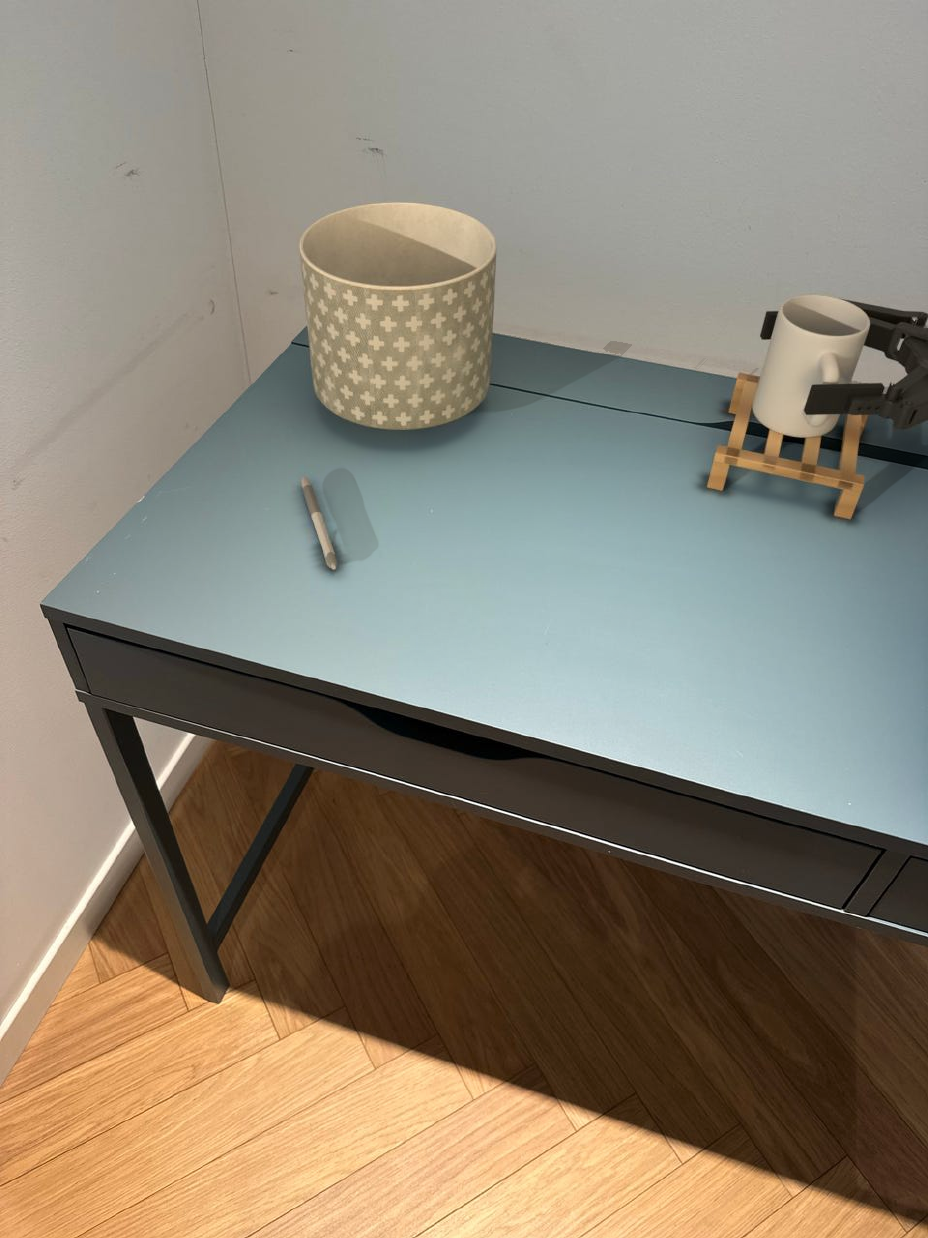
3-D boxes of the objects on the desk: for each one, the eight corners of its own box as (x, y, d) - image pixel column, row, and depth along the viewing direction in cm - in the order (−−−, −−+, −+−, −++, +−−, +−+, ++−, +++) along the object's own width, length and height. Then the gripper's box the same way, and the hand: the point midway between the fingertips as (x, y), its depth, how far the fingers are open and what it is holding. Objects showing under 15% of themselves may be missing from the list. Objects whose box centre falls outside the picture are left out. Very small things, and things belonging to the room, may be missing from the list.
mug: (745, 389, 101) (771, 291, 94) (826, 393, 101) (859, 295, 93) (764, 456, 93) (794, 355, 85) (853, 461, 93) (891, 359, 85)
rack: (850, 519, 93) (864, 485, 90) (706, 487, 96) (715, 452, 93) (860, 431, 104) (872, 397, 101) (730, 405, 107) (738, 371, 104)
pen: (329, 577, 86) (328, 565, 85) (299, 484, 95) (297, 473, 94) (340, 574, 86) (339, 563, 85) (309, 483, 95) (308, 471, 94)
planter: (509, 441, 101) (520, 276, 88) (330, 465, 97) (314, 296, 84) (464, 350, 114) (468, 194, 101) (304, 368, 110) (287, 209, 97)
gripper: (1045, 464, 87) (818, 471, 86) (929, 328, 105) (739, 331, 103) (1085, 392, 82) (844, 398, 80) (956, 261, 99) (756, 263, 98)
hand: (784, 360), depth 92 cm, fingers open, 13 cm apart
